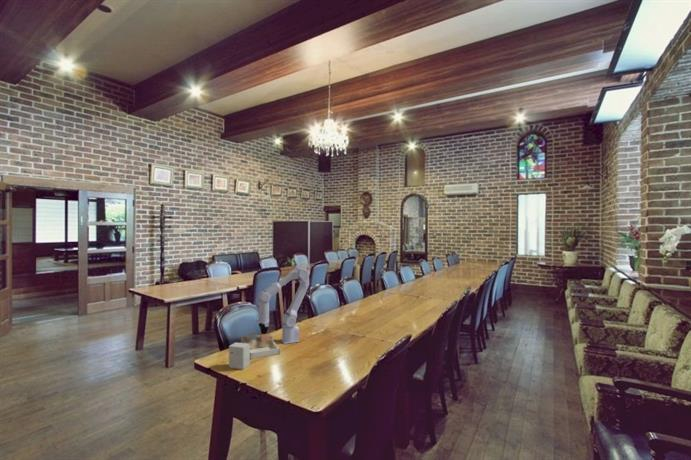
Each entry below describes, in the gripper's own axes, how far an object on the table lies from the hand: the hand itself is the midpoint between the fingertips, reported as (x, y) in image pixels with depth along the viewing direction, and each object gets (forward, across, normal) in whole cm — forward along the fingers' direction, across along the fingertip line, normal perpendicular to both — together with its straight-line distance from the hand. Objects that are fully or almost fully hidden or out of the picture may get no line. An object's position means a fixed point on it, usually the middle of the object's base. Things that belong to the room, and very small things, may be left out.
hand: (263, 336), depth 189 cm
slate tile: (+1, -1, -7) cm, 7 cm away
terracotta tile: (+1, +4, 0) cm, 4 cm away
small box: (+5, +24, -17) cm, 30 cm away
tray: (+5, +12, -3) cm, 13 cm away
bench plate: (+5, -1, -4) cm, 6 cm away
